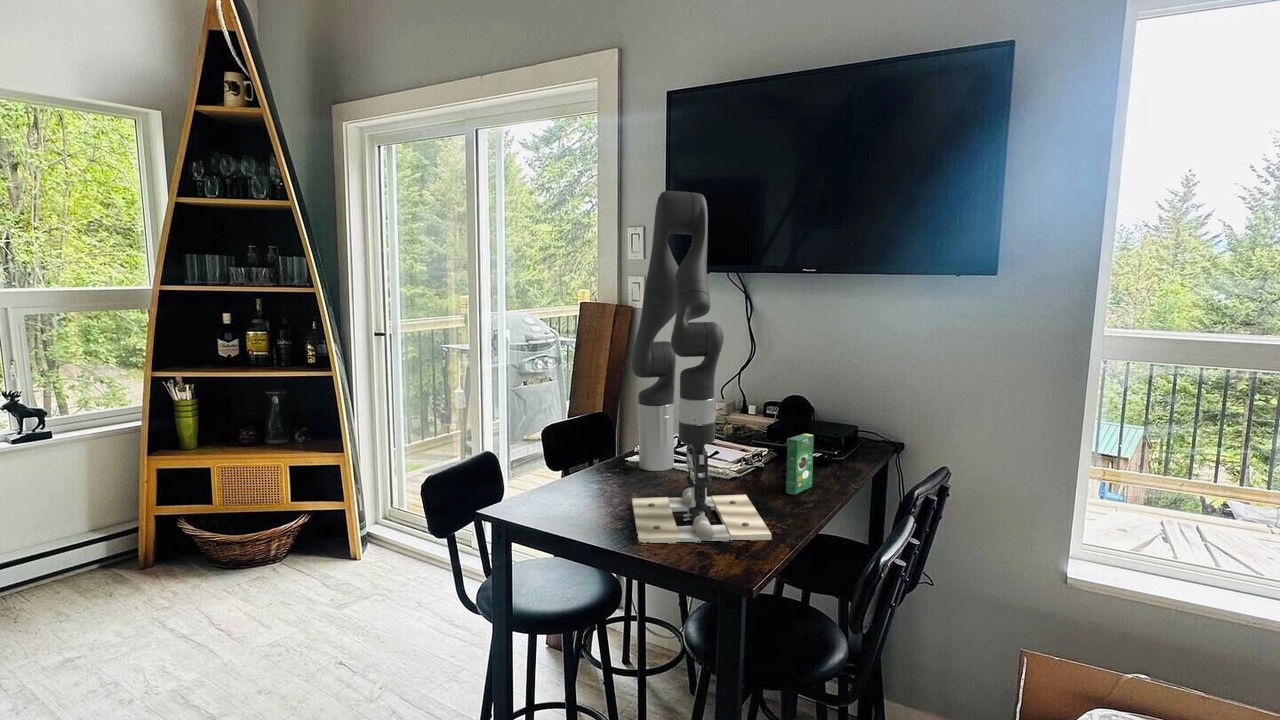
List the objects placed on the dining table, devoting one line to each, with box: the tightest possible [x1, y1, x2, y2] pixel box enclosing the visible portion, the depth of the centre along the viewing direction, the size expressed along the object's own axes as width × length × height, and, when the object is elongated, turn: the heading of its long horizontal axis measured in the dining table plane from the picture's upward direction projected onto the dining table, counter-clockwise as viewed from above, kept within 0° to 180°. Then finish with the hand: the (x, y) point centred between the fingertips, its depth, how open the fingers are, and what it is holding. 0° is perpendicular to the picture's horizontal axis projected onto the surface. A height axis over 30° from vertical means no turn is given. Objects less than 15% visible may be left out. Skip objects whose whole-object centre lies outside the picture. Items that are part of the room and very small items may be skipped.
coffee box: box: [785, 432, 815, 495], centre depth 166 cm, size 8×3×13 cm, turn 137°
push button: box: [682, 473, 713, 523], centre depth 148 cm, size 7×5×10 cm
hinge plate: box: [631, 487, 772, 544], centre depth 148 cm, size 23×26×3 cm
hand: (696, 494), depth 148 cm, fingers open, 8 cm apart
